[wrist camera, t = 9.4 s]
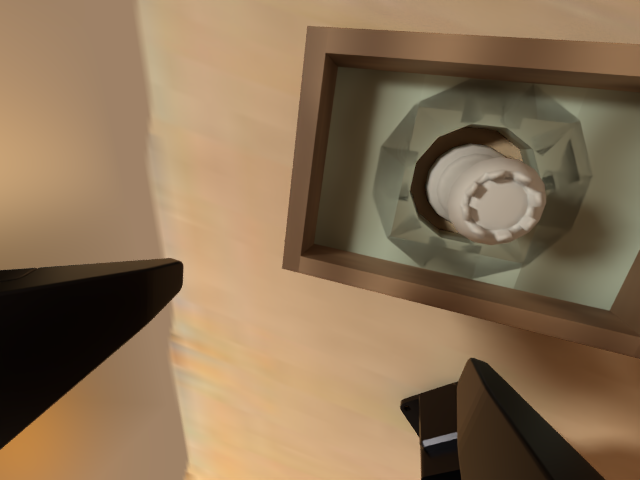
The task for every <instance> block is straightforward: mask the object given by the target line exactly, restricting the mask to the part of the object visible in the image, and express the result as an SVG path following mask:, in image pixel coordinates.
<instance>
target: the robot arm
mask: <svg viewBox="0 0 640 480" xmlns="http://www.w3.org/2000/svg"><path fill="white" fill-rule="evenodd" d="M182 284H183V263H182V262H181V261H178V260H175V259H172V258H165V259H152V260H138V261H125V262H110V263H96V264H83V265H69V266H55V267H43V268H42V267H41V268H38V269H37V268H28V269H12V270H0V450H1V449H2V448H3V447H4V446H5V445H6V444H8V443H9V442H10V441H11V440H12V439H13V438H15V437H16V436H17V435H18V434H19V433H20V432H22V431H23V430H24V429H25V428H26V427H28V426H29V425H30V424H31V423H32V422H33V421H35V420H36V419H37V418H38V417H39V416H40V415H42V414H43V413H44V412H45V411H46V410H48V409H49V408H50V407H51V406H52V405H53V404H55V403H56V402H57V401H58V400H59V399H60V398H62V397H63V396H64V395H65V394H66V393H67V392H69V391H70V390H71V389H72V388H73V387H75V386H76V385H77V384H78V383H79V382H80V381H81V380H83V379H84V378H85V377H86V376H87V375H89V374H90V373H91V372H92V371H93V370H94V369H96V368H97V367H98V366H99V365H100V364H101V363H103V362H104V361H105V360H106V359H107V358H109V357H110V356H111V355H112V354H113V353H114V352H116V351H117V350H118V349H119V348H120V347H121V346H123V345H124V344H125V343H126V342H127V341H128V340H130V339H131V338H132V337H133V336H134V335H136V334H137V333H138V332H139V331H140V330H141V329H142V328H143V327H145V326H146V325H147V324H148V323H149V322H150V321H151V320H152V319H153V318H154V317H155V316H156V315H157V314H158V313H159V312H160V311H161V310H162V309H163V308H164V307H165V306H166V305H167V304H168V303H169V302H170V301H171V300H172V299H173V298H174V297H175V296H176V295H177V293H178V292H179V291H180V290H181V288H182ZM406 406H409V407H406ZM400 409H401V411H402V412H403V414H404V415H405V417H406V418H407V420H408V421H409V423H410V424H411V426H412V427H413V429H414V430H415V432H416V433H417V435H418V436H419V438H420V450H421V480H605V479H604V478H603V477H602V476H601V475H600V474H599V473H598V472H597V471H596V470H595V469H594V468H593V467H592V466H591V465H590V464H589V463H588V462H587V461H586V460H585V459H584V458H583V457H582V456H581V455H580V454H579V453H578V452H577V451H576V450H575V449H574V448H573V447H572V446H571V445H570V444H569V443H568V442H567V441H566V440H565V439H564V438H563V437H562V436H561V435H560V434H559V433H558V432H557V431H556V430H555V429H554V428H553V427H552V426H550V425H549V424H548V423H547V422H546V421H545V420H544V419H543V418H542V417H541V416H540V415H539V414H538V413H537V412H536V411H535V410H534V409H533V408H532V407H531V406H530V405H529V404H528V403H527V402H526V401H525V400H524V399H523V398H522V397H521V396H520V395H519V394H518V393H517V392H516V391H515V390H514V389H513V388H512V387H511V386H510V385H509V384H508V383H507V382H506V381H505V380H504V379H503V378H502V377H501V376H500V375H499V374H498V373H497V372H496V371H495V370H494V369H493V368H492V367H491V366H490V365H489V364H488V363H486V362H484V361H481V360H478V359H475V358H470V359H469V360H468V361H467V363H466V365H465V367H464V370H463V372H462V374H461V377H460V379H459V381H458V382H455V383H452V384H448V385H445V386H442V387H439V388H436V389H433V390H430V391H427V392H424V393H421V394H418V395H415V396H412V397H409V398H406V399H403V400H402V401H401V406H400Z"/></svg>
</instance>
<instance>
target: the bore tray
mask: <svg viewBox="0 0 640 480" xmlns="http://www.w3.org/2000/svg"><path fill="white" fill-rule="evenodd" d="M463 127H473V128H481V129H489V130H497V131H498V132H499V133H501V134H502V135H503V136H504V137H506V138H507V139H508V140H509V141H510V142H512V143H513V144H514V145H515V146H516V147H518V148H519V149H520V151H521V155H522V159H523V163H525V164H527V165H528V166H530V167H532V168H533V169H535V170H536V172H537V173H538V175H539V177H540V178H541V180H542V181H543V183H544V184H545V193H546V204H545V207H544V210H543V213H542V215H541V218H540V220H539V222H538V223H537V224H536V225H535V226H534V227H533V228H532V230H531V231H530V232H529V233H527V234H525V235H523V236H521V237H519V238H517V239H515V240H513V241H511V242H509V243H502V244H495V245H487V244H482V243H477V242H473V241H471V240H469V239H468V238H466V237H465V236H463V235H461V234H460V233H454V232H449V231H444V230H439V229H437V228H436V227H435V226H434V225H432V224H431V223H430V222H429V221H428V220H426V219H425V218H424V217H423V216H422V215H421V214H419V213H418V211H417V208H416V205H415V202H414V199H413V196H412V193H411V190H410V187H411V183H412V179H413V174H414V170H415V165H416V162H417V161H418V160H419V158H420V157H421V156H422V155H423V154H424V153H425V152H426V150H427V149H428V148H429V147H430V146H431V145H432V144H433V143H434V141H435V140H436V139H437V138H438V137H441V136H443V135H446V134H448V133H451V132H453V131H456V130H458V129H461V128H463ZM282 269H286V270H290V271H294V272H298V273H302V274H306V275H310V276H314V277H318V278H322V279H326V280H330V281H334V282H338V283H342V284H346V285H350V286H354V287H358V288H362V289H366V290H370V291H374V292H378V293H382V294H386V295H389V296H393V297H397V298H401V299H405V300H409V301H413V302H417V303H421V304H425V305H429V306H433V307H437V308H441V309H445V310H449V311H453V312H457V313H461V314H465V315H469V316H473V317H477V318H481V319H485V320H489V321H493V322H496V323H500V324H504V325H508V326H512V327H516V328H520V329H524V330H528V331H532V332H536V333H540V334H544V335H548V336H552V337H556V338H560V339H564V340H568V341H572V342H576V343H580V344H584V345H588V346H592V347H596V348H600V349H603V350H607V351H611V352H615V353H619V354H623V355H627V356H631V357H635V358H639V359H640V44H623V43H605V42H587V41H569V40H550V39H532V38H514V37H496V36H478V35H460V34H442V33H424V32H406V31H388V30H370V29H352V28H333V27H315V26H307V35H306V45H305V54H304V64H303V74H302V83H301V93H300V102H299V112H298V122H297V131H296V141H295V150H294V160H293V170H292V179H291V189H290V198H289V208H288V218H287V227H286V237H285V246H284V256H283V266H282Z"/></svg>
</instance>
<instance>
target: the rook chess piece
mask: <svg viewBox="0 0 640 480" xmlns="http://www.w3.org/2000/svg"><path fill="white" fill-rule="evenodd" d="M425 189H426V194H427V200H428V202H429V203H430V205H431V206H432V208H433V209H434V210H435V212H436V213H437V214H438V215H440V216H441V217H443V218H444V219H446V220H448V221H449V222H451V223H452V224H453V225H454V227H455V228H456V230H457V231H458V233H460V234H461V235H463V236H465V237H466V238H468V239H469V240H471V241H473V242H477V243H482V244H487V245H495V244H502V243H509V242H511V241H513V240H515V239H517V238H519V237H521V236H523V235H525V234H527V233H529V232H530V231H531V230H532V228H533V227H534V226H535V225H536V224H537V223H538V222H539V220H540V218H541V215H542V213H543V210H544V207H545V204H546V193H545V184H544V183H543V181H542V180H541V178H540V177H539V175H538V173H537V172H536V170H535V169H533V168H532V167H530V166H528V165H527V164H525V163H523V162H522V161H520V160H518V159H510V158H505V156H504V155H502V154H501V153H499V152H497V151H496V150H494V149H492V148H491V147H488V146H485V145H477V144H470V143H469V144H465V145H461V146H457V147H453V148H451V149H450V150H448V151H447V152H445V153H444V154H442V155H441V156H439V157H438V158H437V160H436V161H435V162H434V164H433V165H432V167H431V168H430V170H429V171H428V175H427V180H426V184H425Z"/></svg>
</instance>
